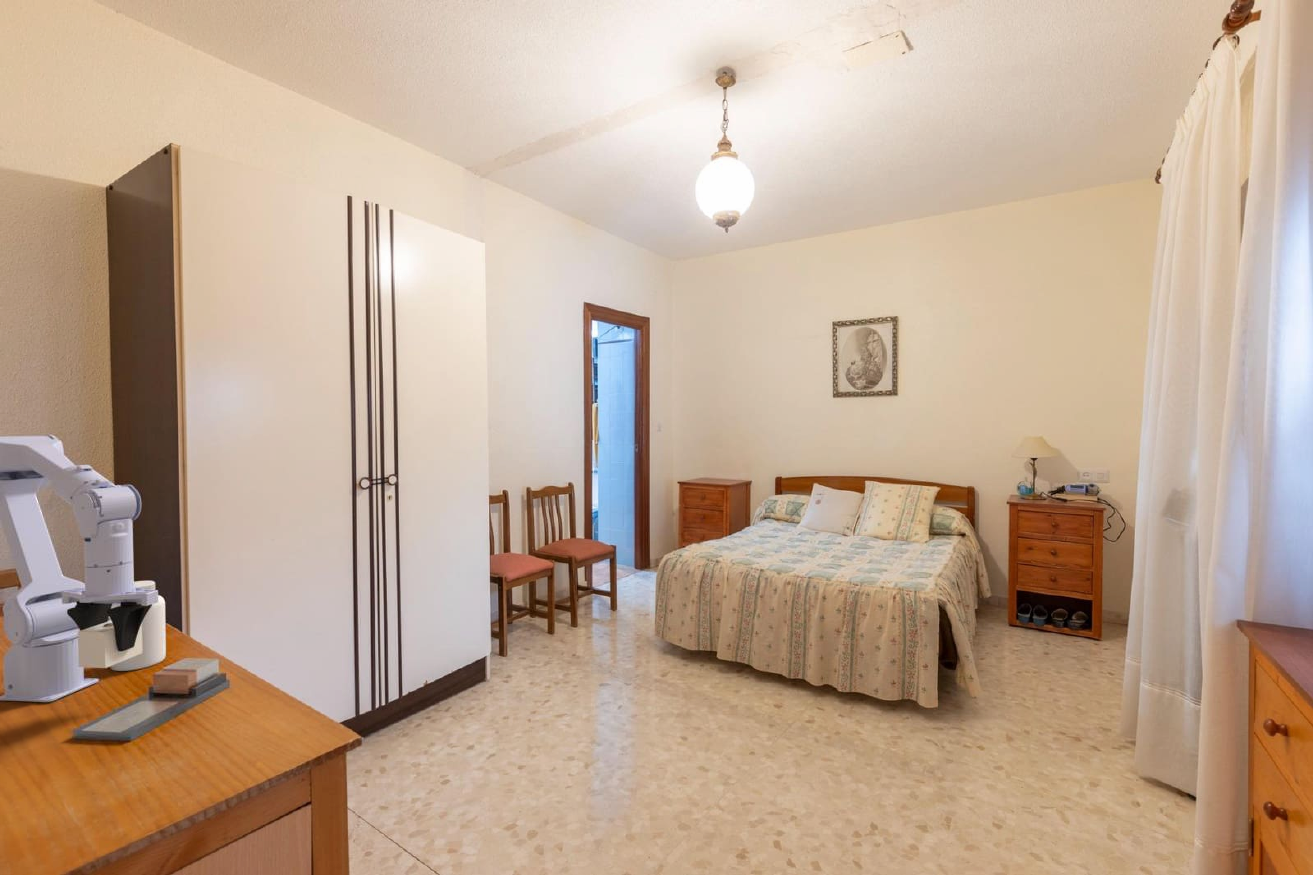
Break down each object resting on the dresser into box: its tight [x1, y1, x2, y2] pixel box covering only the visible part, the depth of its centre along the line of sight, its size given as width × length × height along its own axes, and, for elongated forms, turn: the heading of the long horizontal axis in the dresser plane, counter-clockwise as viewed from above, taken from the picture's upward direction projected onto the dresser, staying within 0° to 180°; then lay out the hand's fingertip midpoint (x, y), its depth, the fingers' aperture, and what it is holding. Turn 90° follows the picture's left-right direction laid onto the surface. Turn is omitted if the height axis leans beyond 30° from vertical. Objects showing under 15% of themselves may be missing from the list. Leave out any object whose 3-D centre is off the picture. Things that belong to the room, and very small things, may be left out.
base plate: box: [72, 672, 231, 742], centre depth 93 cm, size 9×18×2 cm, turn 175°
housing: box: [78, 621, 142, 669], centre depth 94 cm, size 4×6×6 cm
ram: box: [152, 657, 220, 694], centre depth 98 cm, size 6×6×4 cm
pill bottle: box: [109, 580, 167, 672], centre depth 112 cm, size 8×8×15 cm
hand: (111, 648), depth 95 cm, fingers closed on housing, 4 cm apart
